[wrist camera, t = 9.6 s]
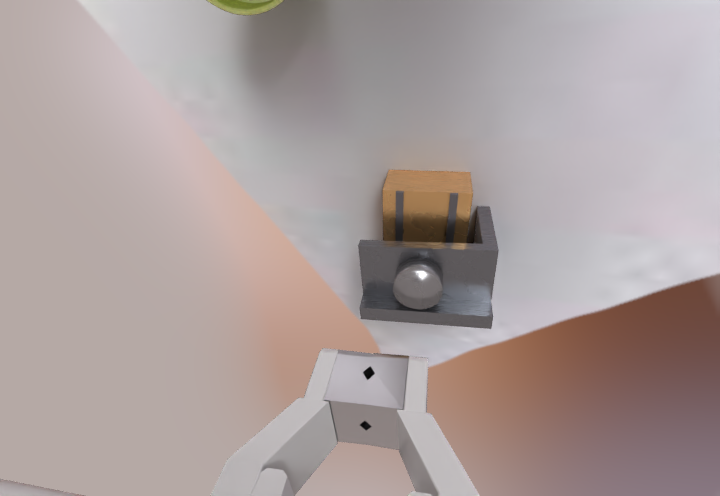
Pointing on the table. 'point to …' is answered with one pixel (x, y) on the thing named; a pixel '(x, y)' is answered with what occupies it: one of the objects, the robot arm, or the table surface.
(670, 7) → the table surface
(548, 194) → the table surface
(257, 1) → the plant pot
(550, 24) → the table surface
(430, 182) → the block
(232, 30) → the table surface
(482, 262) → the bracket
